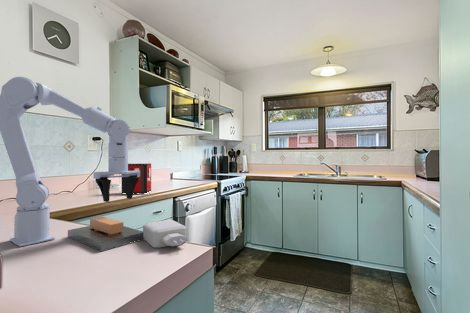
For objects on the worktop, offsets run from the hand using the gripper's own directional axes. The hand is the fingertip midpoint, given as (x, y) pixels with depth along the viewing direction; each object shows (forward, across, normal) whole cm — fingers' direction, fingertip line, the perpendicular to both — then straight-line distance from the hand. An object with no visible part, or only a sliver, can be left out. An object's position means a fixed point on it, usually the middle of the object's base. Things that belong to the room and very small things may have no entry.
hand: (118, 200), depth 82 cm
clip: (+9, -7, -6) cm, 13 cm away
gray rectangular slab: (+9, -7, -6) cm, 13 cm away
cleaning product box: (+10, +55, +77) cm, 95 cm away
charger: (+10, 0, -24) cm, 26 cm away
